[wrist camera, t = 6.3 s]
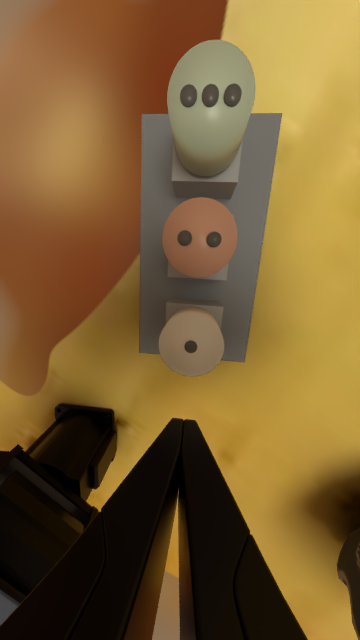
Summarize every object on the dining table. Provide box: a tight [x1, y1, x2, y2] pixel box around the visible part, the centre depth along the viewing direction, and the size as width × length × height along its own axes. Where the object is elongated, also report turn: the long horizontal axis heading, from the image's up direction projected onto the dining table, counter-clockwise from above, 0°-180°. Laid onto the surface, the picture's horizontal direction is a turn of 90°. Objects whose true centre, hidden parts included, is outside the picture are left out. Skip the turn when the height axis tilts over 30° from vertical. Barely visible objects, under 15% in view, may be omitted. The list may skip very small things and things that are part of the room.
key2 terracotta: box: [162, 197, 238, 277], centre depth 11 cm, size 4×4×5 cm
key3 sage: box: [167, 40, 255, 176], centre depth 10 cm, size 4×4×5 cm
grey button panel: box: [139, 113, 282, 362], centre depth 14 cm, size 9×17×4 cm, turn 177°
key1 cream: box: [159, 307, 224, 376], centre depth 13 cm, size 4×4×5 cm
